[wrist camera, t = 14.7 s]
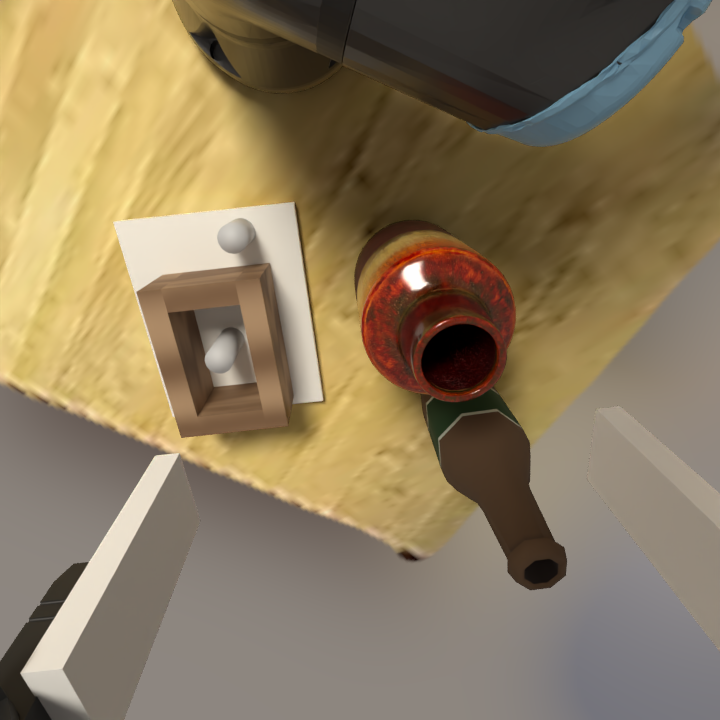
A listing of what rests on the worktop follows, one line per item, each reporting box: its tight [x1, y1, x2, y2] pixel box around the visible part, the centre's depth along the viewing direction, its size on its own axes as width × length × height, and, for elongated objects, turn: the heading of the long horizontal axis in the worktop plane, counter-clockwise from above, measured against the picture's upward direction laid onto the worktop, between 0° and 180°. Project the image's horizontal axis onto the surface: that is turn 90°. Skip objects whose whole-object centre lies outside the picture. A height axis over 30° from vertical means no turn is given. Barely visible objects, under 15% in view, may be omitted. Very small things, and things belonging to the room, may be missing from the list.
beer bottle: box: [421, 386, 567, 590], centre depth 39 cm, size 8×8×24 cm
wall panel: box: [113, 202, 323, 417], centre depth 42 cm, size 20×16×6 cm
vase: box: [355, 220, 516, 402], centre depth 35 cm, size 11×11×20 cm
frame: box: [136, 263, 294, 438], centre depth 42 cm, size 14×10×6 cm
